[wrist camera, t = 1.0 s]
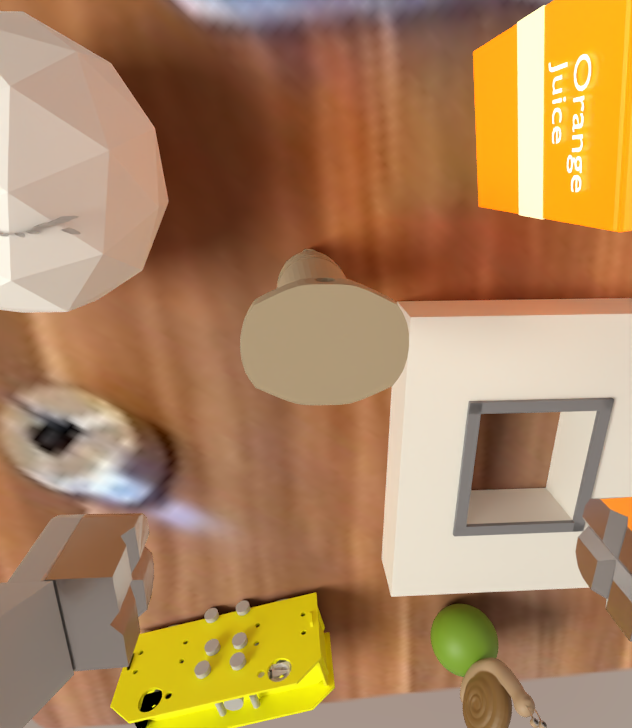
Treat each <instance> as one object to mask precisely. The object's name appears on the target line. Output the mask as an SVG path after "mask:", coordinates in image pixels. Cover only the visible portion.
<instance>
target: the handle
mask: <svg viewBox="0 0 632 728" xmlns="http://www.w3.org/2000/svg"><path fill="white" fill-rule="evenodd" d="M240 351H241V359H242V363H243V366H244V370H245V372H246V374H247V376H248V378H249V379H250V381H251V382H252V383H253V385H254V386H255V387H256V388H258V389H260V390H262V391H265V392H267V393H269V394H271V395H274V396H276V397H279V398H281V399H284V400H286V401H289V402H293V403H296V404H302V405H341V404H349V403H353V402H356V401H359V400H362V399H364V398H367V397H369V396H371V395H374V394H376V393H378V392H380V391H383V390H385V389H387V388H389V387H391V386H393V385H394V383H395V382H396V381H397V380H398V378H399V377H400V375H401V373H402V372H403V370H404V367H405V364H406V361H407V357H408V351H409V331H408V325H407V321H406V319H405V317H404V314H403V312H402V311H401V309H400V307H399V306H398V304H397V303H396V302H395V301H394V300H393V299H391V298H389V297H387V296H385V295H384V294H382V293H380V292H378V291H375V290H373V289H371V288H369V287H367V286H365V285H362V284H360V283H357V282H355V281H352V280H350V279H346V277H345V275H344V273H343V272H342V270H341V268H340V267H339V266H338V265H337V263H335V262H334V261H333V260H332V259H331V258H330V257H328V256H326V255H325V254H322V253H320V252H316V251H315V250H313V249H304V250H303V252H301V253H298V254H296V255H294V256H293V257H291V258H290V259H289V260H287V261H286V263H285V265H284V266H283V268H282V270H281V272H280V275H279V277H278V282H277V289H275V290H272V291H270V292H268V293H266V294H264V295H262V296H261V297H259V298H257V299H255V300H254V302H253V303H252V305H251V306H250V308H249V310H248V312H247V314H246V316H245V319H244V322H243V327H242V331H241V338H240Z"/></svg>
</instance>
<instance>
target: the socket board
mask: <svg viewBox="0 0 632 728" xmlns="http://www.w3.org/2000/svg"><path fill="white" fill-rule="evenodd" d="M397 304H398V306H399V307H400V309H401V311H402V312H403V314H404V317H405V319H406V321H407V325H408V331H409V351H408V357H407V361H406V364H405V367H404V370H403V372H402V373H401V375H400V377H399V378H398V380H397V381H396V382H395V383H394V385H393V386H392V393H391V410H390V426H389V443H388V460H387V477H386V494H385V511H384V528H383V545H382V562H383V566H384V570H385V574H386V578H387V582H388V586H389V590H390V594H391V597H393V596H415V595H437V594H458V593H480V592H501V591H523V590H545V589H566V588H588V587H589V586H588V585H587V583H586V582H585V580H584V579H583V577H582V575H581V573H580V570H579V568H578V564H577V558H576V552H575V551H576V545H577V539H578V536H579V535H580V534H581V533H582V532H583V531H584V530H585V529H586V528H587V527H588V525H587V524H586V522H585V520H584V519H583V517H582V516H583V512H584V508H585V505H586V504H587V502H588V501H589V500H590V498H611V497H632V298H596V299H526V300H456V301H397ZM536 412H561V413H560V418H559V423H558V428H557V433H556V438H555V443H554V449H553V454H552V459H551V464H550V469H549V474H548V479H547V485H546V488H525V489H497V490H471V486H472V478H473V471H474V463H475V455H476V448H477V440H478V433H479V425H480V417H481V414H499V413H536Z"/></svg>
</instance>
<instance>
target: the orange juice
mask: <svg viewBox="0 0 632 728" xmlns="http://www.w3.org/2000/svg"><path fill="white" fill-rule="evenodd" d="M473 65H474V92H475V120H476V147H477V174H478V202H479V207H483V208H489V209H494V210H500V211H505V212H511V213H516V214H519V215H521V216H527V217H532V218H538V219H549V220H555V221H560V222H566V223H571V224H577V225H582V226H588V227H593V228H599V229H604V230H610V231H615V232H625V231H632V0H554V1H552V2H551V3H549V4H548V5H543V6H542V7H540V8H539V9H537V10H536V11H534V12H533V13H531V14H529V15H528V16H526V17H525V18H523V19H522V20H520V21H519V22H517V24H516V25H514V26H513V27H511V28H510V29H508V30H507V31H505V32H503V33H502V34H500V35H499V36H497V37H496V38H494V39H492V40H491V41H489V42H488V43H486V44H485V45H483V46H481V47H480V48H478V49H477V50H475V51H473Z"/></svg>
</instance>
